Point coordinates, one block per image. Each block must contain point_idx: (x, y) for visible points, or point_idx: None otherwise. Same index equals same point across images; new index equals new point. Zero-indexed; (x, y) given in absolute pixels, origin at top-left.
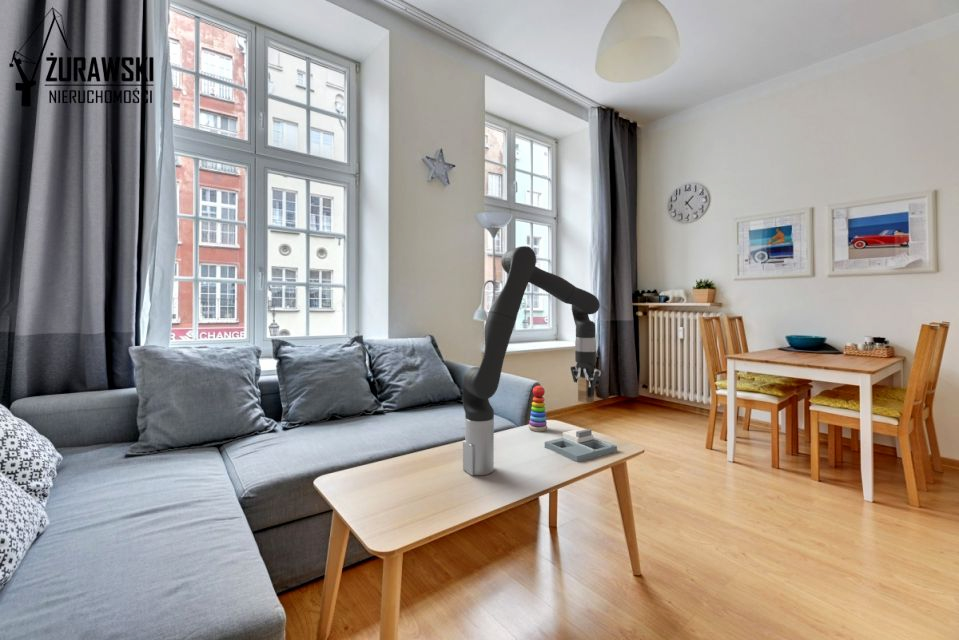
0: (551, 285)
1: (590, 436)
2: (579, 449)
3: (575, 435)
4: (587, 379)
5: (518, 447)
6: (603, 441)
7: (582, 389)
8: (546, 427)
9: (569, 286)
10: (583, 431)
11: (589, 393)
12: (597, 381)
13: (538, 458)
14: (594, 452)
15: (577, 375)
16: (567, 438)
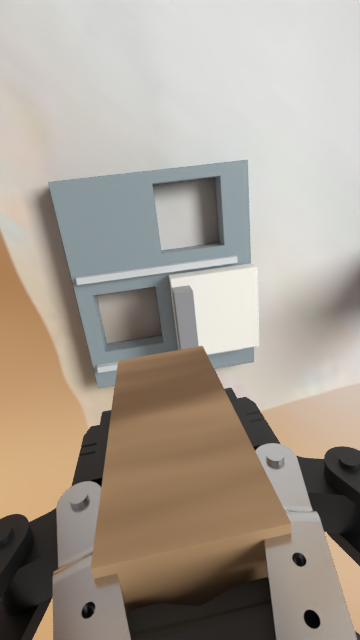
0: None
1: (178, 344)
2: (113, 242)
3: (204, 293)
4: (74, 575)
5: (291, 44)
6: None
7: (164, 417)
8: None
9: None
10: (180, 320)
11: (98, 433)
12: (2, 637)
13: (144, 47)
14: (73, 280)
15: (331, 556)
16: (224, 267)
